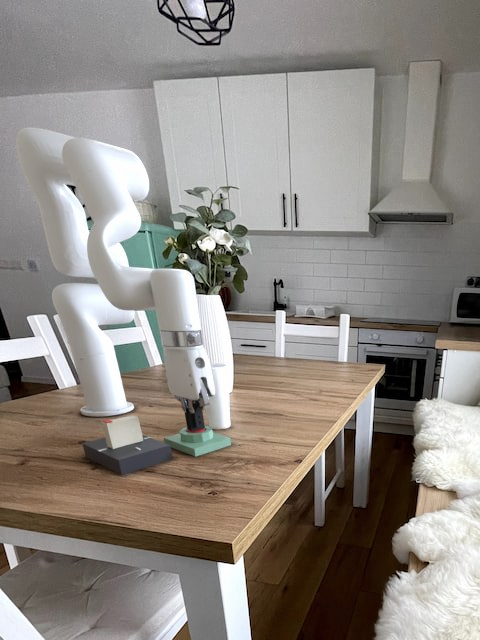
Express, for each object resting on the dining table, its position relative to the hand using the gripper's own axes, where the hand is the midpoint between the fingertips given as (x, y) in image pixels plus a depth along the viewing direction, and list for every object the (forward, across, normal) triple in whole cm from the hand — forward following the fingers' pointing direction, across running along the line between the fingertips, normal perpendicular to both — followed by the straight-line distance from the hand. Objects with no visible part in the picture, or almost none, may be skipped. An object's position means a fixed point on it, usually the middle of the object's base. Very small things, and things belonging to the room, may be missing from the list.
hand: (196, 429), depth 85 cm
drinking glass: (+4, +7, -11) cm, 14 cm away
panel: (+4, +4, +13) cm, 14 cm away
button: (+2, 0, 0) cm, 2 cm away
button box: (+4, 0, 0) cm, 4 cm away
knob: (+1, +4, +13) cm, 14 cm away
